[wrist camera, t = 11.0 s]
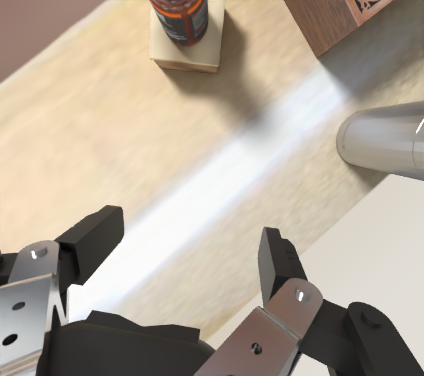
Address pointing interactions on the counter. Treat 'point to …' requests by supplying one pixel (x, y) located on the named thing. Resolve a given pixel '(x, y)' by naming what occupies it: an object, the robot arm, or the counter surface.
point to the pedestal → (189, 55)
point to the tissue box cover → (331, 19)
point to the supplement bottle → (183, 19)
